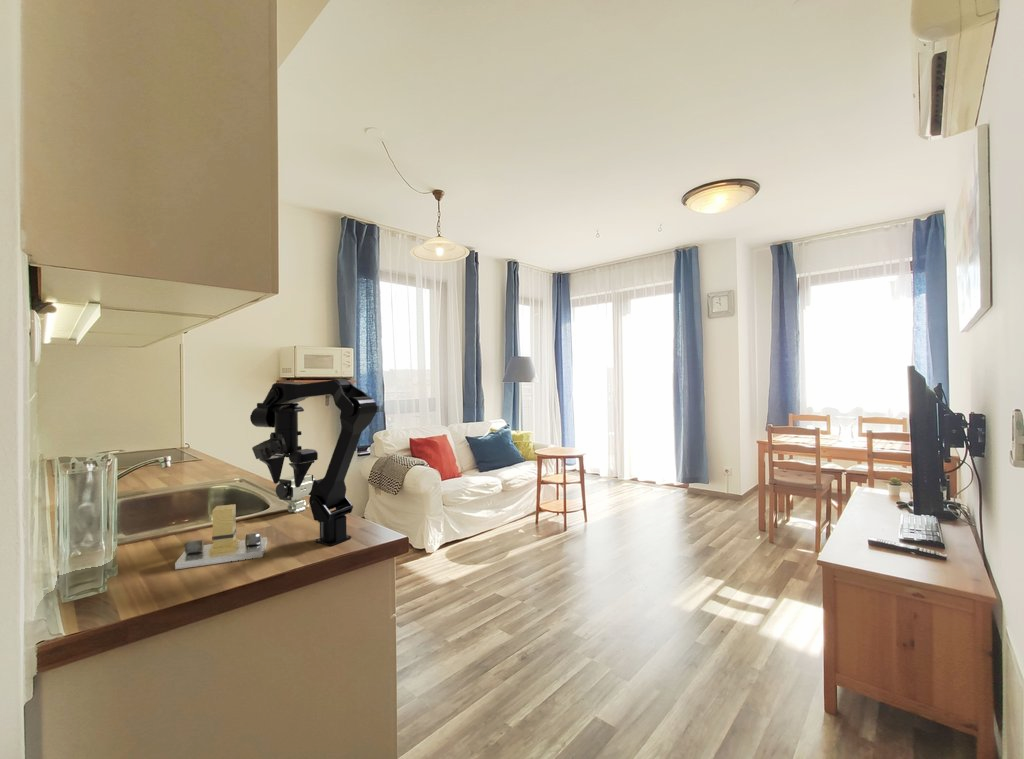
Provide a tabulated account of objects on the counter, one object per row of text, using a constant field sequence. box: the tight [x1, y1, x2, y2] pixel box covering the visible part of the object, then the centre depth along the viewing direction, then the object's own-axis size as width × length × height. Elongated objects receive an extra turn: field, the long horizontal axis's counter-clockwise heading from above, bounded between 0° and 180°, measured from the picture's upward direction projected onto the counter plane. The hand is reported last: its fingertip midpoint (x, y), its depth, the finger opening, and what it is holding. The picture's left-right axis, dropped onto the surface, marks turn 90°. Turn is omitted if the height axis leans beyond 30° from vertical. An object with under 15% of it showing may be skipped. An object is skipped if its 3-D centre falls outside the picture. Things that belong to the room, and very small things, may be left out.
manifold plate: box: [174, 532, 268, 570], centre depth 107 cm, size 17×10×4 cm, turn 113°
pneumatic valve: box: [275, 473, 317, 514], centre depth 142 cm, size 6×12×12 cm, turn 156°
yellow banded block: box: [209, 503, 240, 555], centre depth 107 cm, size 5×5×10 cm
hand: (286, 485), depth 123 cm, fingers open, 9 cm apart
